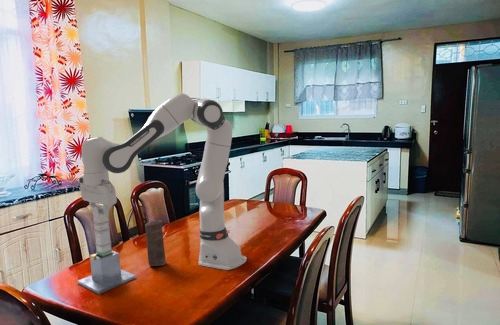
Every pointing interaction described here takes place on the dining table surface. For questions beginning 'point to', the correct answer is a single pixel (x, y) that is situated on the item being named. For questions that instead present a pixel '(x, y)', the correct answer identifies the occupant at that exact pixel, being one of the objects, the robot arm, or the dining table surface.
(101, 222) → the column
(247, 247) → the dining table surface
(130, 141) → the robot arm
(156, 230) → the grey upright block
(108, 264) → the stand
